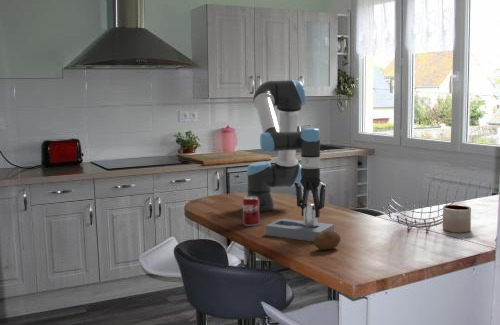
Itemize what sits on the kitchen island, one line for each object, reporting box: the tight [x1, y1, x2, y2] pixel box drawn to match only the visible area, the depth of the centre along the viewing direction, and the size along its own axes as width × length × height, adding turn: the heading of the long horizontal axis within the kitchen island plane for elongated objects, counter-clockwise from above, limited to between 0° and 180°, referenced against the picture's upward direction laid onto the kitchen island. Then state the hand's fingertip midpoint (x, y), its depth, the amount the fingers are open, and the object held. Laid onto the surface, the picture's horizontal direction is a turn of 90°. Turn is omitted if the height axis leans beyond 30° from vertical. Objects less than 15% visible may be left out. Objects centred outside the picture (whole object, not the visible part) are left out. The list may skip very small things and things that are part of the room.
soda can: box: [242, 196, 261, 227], centre depth 242 cm, size 7×7×12 cm
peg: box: [306, 203, 315, 228], centre depth 220 cm, size 4×4×13 cm
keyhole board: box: [265, 218, 335, 243], centre depth 223 cm, size 24×14×4 cm, turn 58°
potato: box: [313, 230, 341, 251], centre depth 202 cm, size 7×12×7 cm, turn 127°
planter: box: [442, 204, 472, 234], centre depth 225 cm, size 11×11×10 cm
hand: (310, 224), depth 220 cm, fingers closed on peg, 3 cm apart
